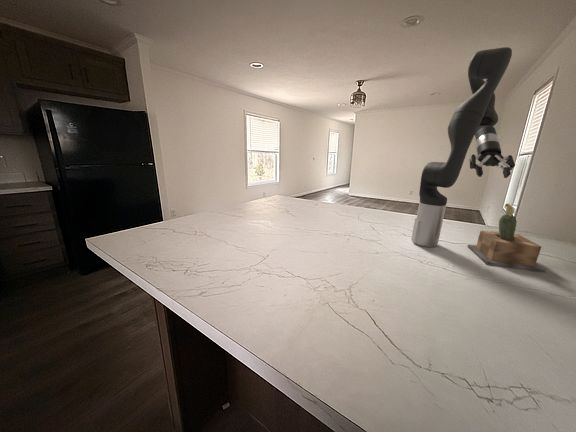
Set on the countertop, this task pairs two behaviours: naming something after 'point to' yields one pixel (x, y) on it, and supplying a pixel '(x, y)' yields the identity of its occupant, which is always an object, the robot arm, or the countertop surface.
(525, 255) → the holder
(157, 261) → the countertop surface
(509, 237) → the vegetable
